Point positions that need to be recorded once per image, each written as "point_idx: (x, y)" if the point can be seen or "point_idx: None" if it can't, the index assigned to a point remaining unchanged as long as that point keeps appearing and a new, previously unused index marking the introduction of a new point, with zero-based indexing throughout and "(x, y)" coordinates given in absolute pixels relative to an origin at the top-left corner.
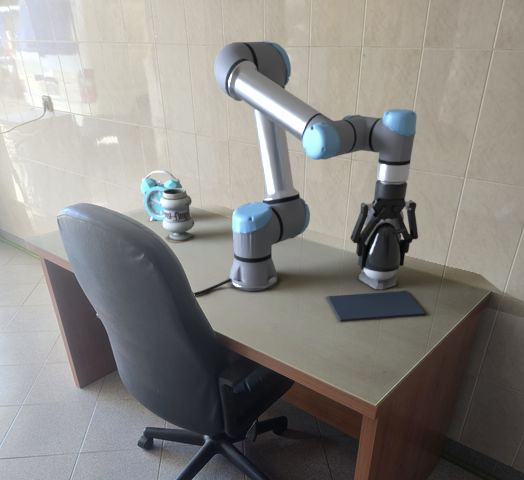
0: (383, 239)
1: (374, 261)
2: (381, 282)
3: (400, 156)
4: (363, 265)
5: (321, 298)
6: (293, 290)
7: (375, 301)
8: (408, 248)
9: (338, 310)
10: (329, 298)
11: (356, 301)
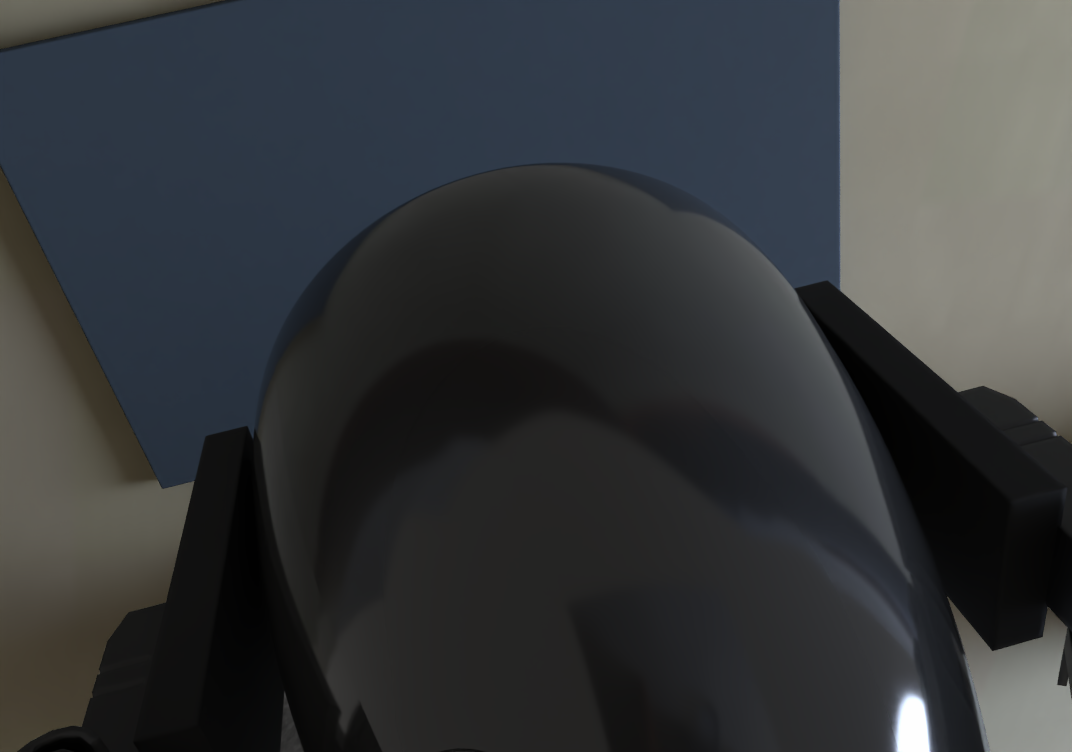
0: (791, 589)
1: (746, 261)
2: None
3: None
4: (822, 306)
5: (882, 300)
6: (1047, 400)
7: None
8: (104, 678)
9: (816, 62)
10: (838, 281)
11: None
